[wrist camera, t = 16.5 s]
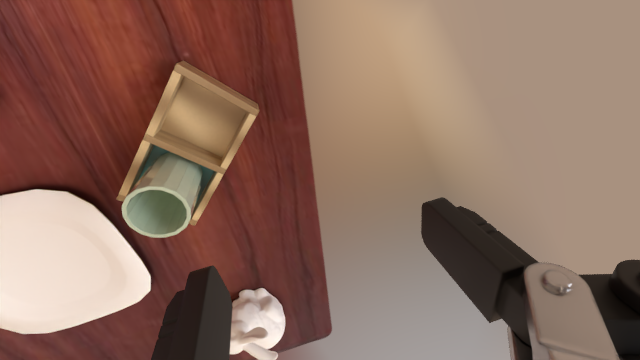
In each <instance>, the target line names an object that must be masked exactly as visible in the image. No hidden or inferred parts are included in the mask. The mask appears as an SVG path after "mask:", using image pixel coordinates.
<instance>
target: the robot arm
mask: <svg viewBox="0 0 640 360" xmlns="http://www.w3.org/2000/svg"><path fill="white" fill-rule="evenodd" d="M421 233H422V238H423V241H424V243H425V245H426V247H427V248H428V249H429V251H430V252H431V253H432V254H433V255H434V257H435V258H436V259H437V260H438V261H439V263H440V264H441V265H442V266H443V267H444V268H445V270H446V271H447V272H448V273H449V275H450V276H451V277H452V278H453V279H454V281H455V282H456V283H457V284H458V285H459V287H460V288H461V289H462V290H463V291H464V293H465V294H466V295H467V296H468V297H469V299H470V300H471V301H472V302H473V303H474V305H475V306H476V307H477V308H478V309H479V310H480V312H481V313H482V314H483V315H484V317H485V318H486V319H487V320H488V321H489V323H491V322H493V321H496V320H499V319H503V320H504V321H505V322H506V323H507V324H508V329H507V330H508V331H507V332H508V340H509V348H510V356H511V360H640V260H626V261H623V262H620V263H619V264H618V265H617V266H616V268H615V270H614V272H613V274H597V275H596V274H594V275H577V274H576V273H574V272H573V271H571V270H569V269H567V268H565V267H562V266H560V265H556V264H552V263H539V262H538V261H536V260H535V259H534V258H532V257H531V256H530V255H529V254H527V253H526V252H525V251H524V250H522V249H521V248H520V247H518V246H517V245H516V244H515V243H513V242H512V241H511V240H510V239H508V238H507V237H506V236H504V235H503V234H502V233H501V232H499V231H497V230H496V228H494V227H493V226H492V225H491V224H489V223H487V221H485V220H484V219H483V218H482V217H480V216H479V215H478V214H477V213H475V212H473V211H470V210H468V209H466V208H464V207H461V206H460V207H455V206H454V205H453V204H452V203H450V202H449V201H448V200H447V199H445V198H438V199H435V200H432V201H428V202H425V203H423V205H422V231H421ZM231 323H232V301H231V297H230V294H229V291H228V290H227V288H226V286H225V284H224V282H223V280H222V279H221V277H220V275H219V273H218V271H217V269H216V268H215V267H214V266H209V267H206V268H202V269H199V270H196V271H192V272H190V274H189V276H188V279H187V283H186V287H185V290H182V291H179V292H177V293H176V295H175V296H174V298H173V299H172V301H171V302H170V304H169V305H168V306H167V309H166V312H165V316H164V319H163V322H162V324H163V326H161V329H160V332H159V335H158V337H159V339H158V340H157V342H156V345H155V349H154V352H153V355H152V358H151V360H229V355H230V339H231Z"/></svg>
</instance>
